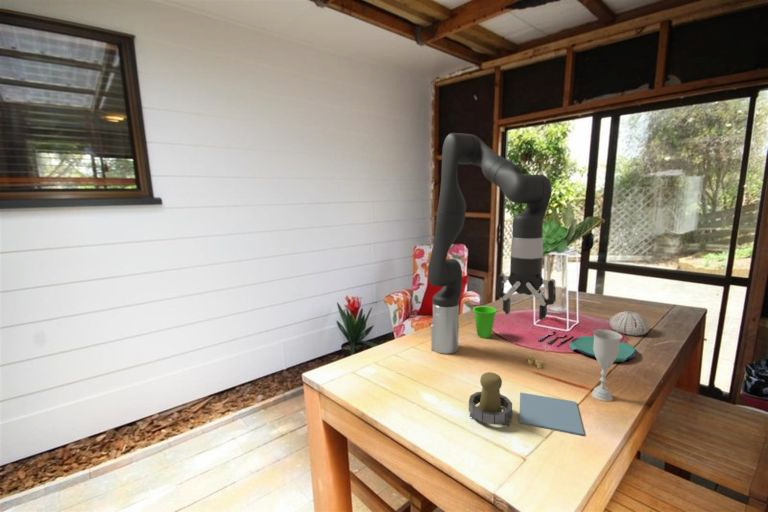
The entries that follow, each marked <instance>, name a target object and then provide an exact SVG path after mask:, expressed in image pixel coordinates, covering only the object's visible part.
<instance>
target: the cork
mask: <svg viewBox="0 0 768 512" xmlns="http://www.w3.org/2000/svg"><path fill="white" fill-rule="evenodd" d="M479 381H480V382H479V383H480V385H481V387H482V388H481V391H480V392H481V398H480V403H478V404H479V405H478V408H480V409H482V410H484V411H488V412H493V413H495V412H503V410H502V409H503V407H502V406H501V399H500V394H501V392H500V391H501V390H500V389H502V385H503V379H502V377H501V376H500V375H499V374H497V373H495V372H492V371H490V372H484V373H483V374H481V376H480V380H479Z"/></svg>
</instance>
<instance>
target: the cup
mask: <svg viewBox="0 0 768 512" xmlns="http://www.w3.org/2000/svg"><path fill="white" fill-rule="evenodd" d="M472 310H473V313H474V321H475V328H476V333H477V334H476V335H477V337H479V338H480V339H489V338H490V337H491V336H492V333H493V328H494V322H495V318H496V317H495V316H496V313H497V311H498V310H497V308H496V307H493V306H489V305H488V306H487V305H478V306H474V307H473V308H472Z"/></svg>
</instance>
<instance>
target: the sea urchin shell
mask: <svg viewBox="0 0 768 512" xmlns="http://www.w3.org/2000/svg"><path fill="white" fill-rule="evenodd" d="M609 325H610V328H611V329H613V331H615V332H617V333H620V334H623V335H627V336H636V337H638V336H643V335H645V334H648V332H649V331H650V325H649V323H648V320H646V318H645V317H644V316H642V314H640V313H638V312H634V311H630V310H629V311H627V310H625V311H620V312H618V313H616V314H615V315H613V316H611V317H610V318H609Z"/></svg>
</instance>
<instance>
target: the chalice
mask: <svg viewBox="0 0 768 512" xmlns="http://www.w3.org/2000/svg"><path fill="white" fill-rule="evenodd" d="M592 336H594V345H593V350H594V354H595V357H594V358H596V361H597V364H598V366H600V367H601V371H600V375H601V377H600V378H599V381H600V385H596V387H594V389H593V390H592V392H591V393H590V394H591V396H592V397H593V398H594V399H596V400H599V401H601V402H612V401H613V399H614V398H613V396H612V393H611V391H610V389H609V388H608V387H606V385H605V384H606V382H607V381H608V380H607V379H606V376H607V375H608V373H607V368H611V366H612V365H613V364H614V363H615V362H614V361H615V359H616V358H617V356H618V353H619V342H621V340H622V338H623V335H622V333H620V332H617V331H615V330H610V329H603V328H602V329H600V328H598V329H594V330H593V331H592Z"/></svg>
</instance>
